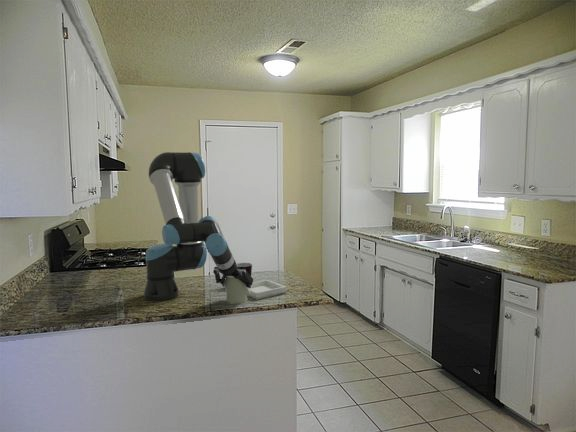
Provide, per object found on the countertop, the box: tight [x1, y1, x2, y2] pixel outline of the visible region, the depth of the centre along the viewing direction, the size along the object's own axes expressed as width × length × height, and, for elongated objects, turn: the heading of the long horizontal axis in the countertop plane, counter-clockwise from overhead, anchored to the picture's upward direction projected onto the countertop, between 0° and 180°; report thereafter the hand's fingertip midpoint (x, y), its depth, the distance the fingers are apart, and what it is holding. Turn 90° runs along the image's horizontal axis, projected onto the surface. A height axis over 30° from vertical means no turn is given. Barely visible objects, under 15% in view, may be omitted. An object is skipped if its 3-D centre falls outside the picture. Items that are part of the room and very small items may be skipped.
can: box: [225, 276, 248, 305], centre depth 177 cm, size 9×9×12 cm
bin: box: [247, 279, 287, 301], centre depth 189 cm, size 16×16×3 cm
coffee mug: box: [236, 262, 253, 277], centre depth 202 cm, size 12×9×10 cm
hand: (239, 289), depth 181 cm, fingers closed on can, 9 cm apart
